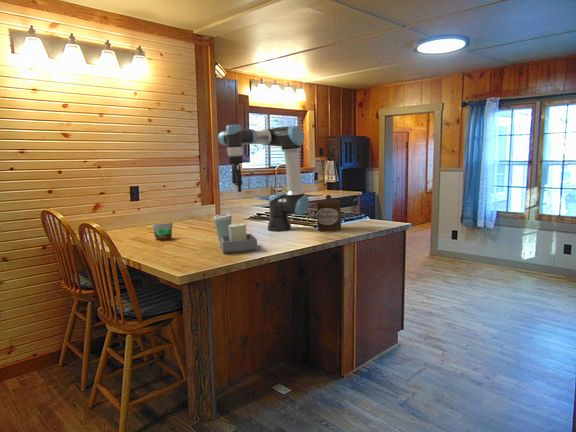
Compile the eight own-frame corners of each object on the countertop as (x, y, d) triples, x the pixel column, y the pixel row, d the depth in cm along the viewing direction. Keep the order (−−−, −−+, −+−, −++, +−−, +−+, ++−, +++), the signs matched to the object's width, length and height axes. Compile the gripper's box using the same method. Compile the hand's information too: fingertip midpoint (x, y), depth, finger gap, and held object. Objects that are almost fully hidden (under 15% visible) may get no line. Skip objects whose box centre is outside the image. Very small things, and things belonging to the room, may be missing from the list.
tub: (252, 244, 224) (251, 233, 223) (257, 250, 207) (256, 239, 207) (220, 247, 220) (219, 236, 219) (223, 254, 203) (222, 242, 203)
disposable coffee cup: (229, 242, 231) (228, 216, 229) (211, 242, 233) (210, 216, 231) (235, 238, 241) (234, 213, 239) (218, 238, 244) (216, 213, 242)
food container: (153, 241, 242) (152, 225, 240) (152, 240, 247) (151, 223, 246) (175, 239, 246) (174, 223, 245) (174, 237, 252) (172, 221, 250)
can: (230, 249, 208) (229, 226, 206) (229, 245, 217) (227, 223, 215) (248, 247, 210) (247, 224, 209) (246, 244, 219) (244, 221, 217)
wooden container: (315, 231, 255) (314, 196, 252) (320, 227, 269) (319, 193, 266) (339, 231, 251) (338, 196, 248) (343, 227, 265) (342, 193, 262)
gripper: (225, 156, 222) (228, 195, 225) (230, 156, 198) (234, 199, 201) (239, 155, 223) (241, 194, 227) (246, 155, 200) (249, 198, 203)
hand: (238, 197), depth 214 cm, fingers open, 13 cm apart
